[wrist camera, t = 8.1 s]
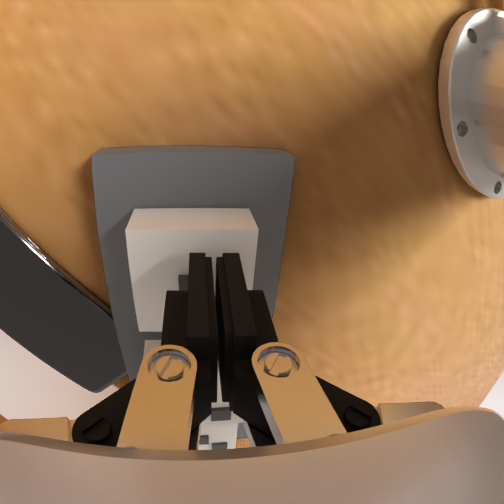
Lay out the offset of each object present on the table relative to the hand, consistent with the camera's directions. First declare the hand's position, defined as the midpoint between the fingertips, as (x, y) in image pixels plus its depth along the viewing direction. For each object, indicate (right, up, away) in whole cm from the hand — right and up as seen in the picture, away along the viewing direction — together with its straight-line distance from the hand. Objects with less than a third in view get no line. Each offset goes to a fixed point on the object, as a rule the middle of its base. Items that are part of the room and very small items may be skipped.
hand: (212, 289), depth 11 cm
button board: (-2, -3, +7) cm, 8 cm away
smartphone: (-12, -1, +4) cm, 12 cm away
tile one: (-1, +1, +2) cm, 3 cm away
